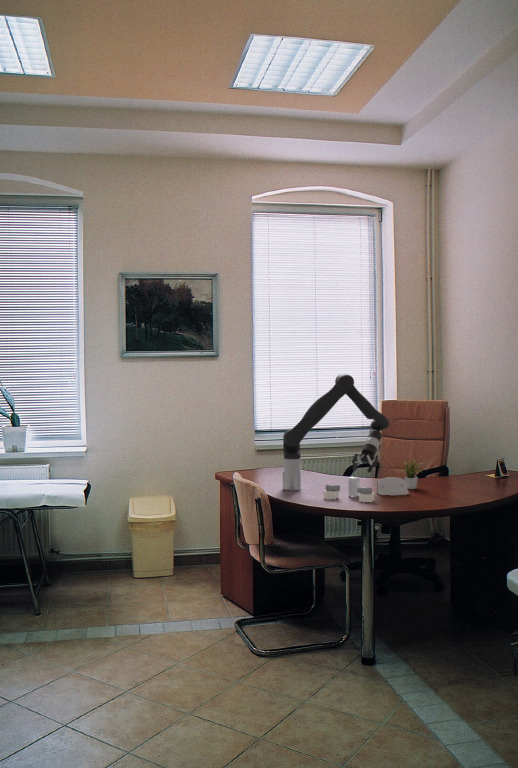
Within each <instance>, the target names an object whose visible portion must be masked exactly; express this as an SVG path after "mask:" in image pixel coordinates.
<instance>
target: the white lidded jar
mask: <svg viewBox="0 0 518 768" xmlns="http://www.w3.org/2000/svg"><path fill="white" fill-rule="evenodd" d="M324 488H325V489H324V490H323V500H331V499H335V500H337V499H338V498H339V492H340V491H341V485H339V484H325V487H324ZM336 498H337V499H336Z"/></svg>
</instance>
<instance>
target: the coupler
mask: <svg viewBox="0 0 518 768" xmlns="http://www.w3.org/2000/svg"><path fill="white" fill-rule="evenodd" d="M347 479H348V497H349V496H353V497H352V498H355V497H357V496H359V494H360V493H358V492H357V488H358V487H360V476H350V477H348V478H347ZM357 498H358V497H357Z"/></svg>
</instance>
